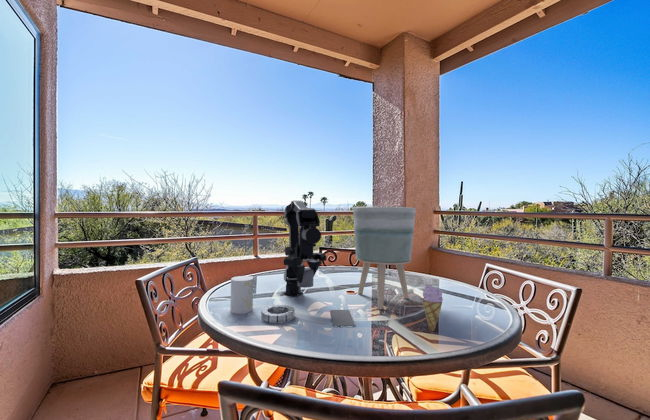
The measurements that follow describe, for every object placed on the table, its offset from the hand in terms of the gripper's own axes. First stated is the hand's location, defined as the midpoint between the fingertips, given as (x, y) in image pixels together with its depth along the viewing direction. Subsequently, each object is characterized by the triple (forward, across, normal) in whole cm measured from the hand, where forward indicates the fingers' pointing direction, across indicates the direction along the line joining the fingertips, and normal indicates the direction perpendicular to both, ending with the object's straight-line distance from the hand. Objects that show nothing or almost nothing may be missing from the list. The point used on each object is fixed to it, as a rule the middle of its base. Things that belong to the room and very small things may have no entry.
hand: (305, 281), depth 110 cm
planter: (+11, -31, +17) cm, 37 cm away
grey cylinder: (+11, +16, -18) cm, 27 cm away
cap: (+2, 0, 0) cm, 2 cm away
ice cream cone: (+11, -13, +44) cm, 47 cm away
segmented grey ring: (+11, +12, -2) cm, 16 cm away
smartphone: (+12, -2, +16) cm, 20 cm away
